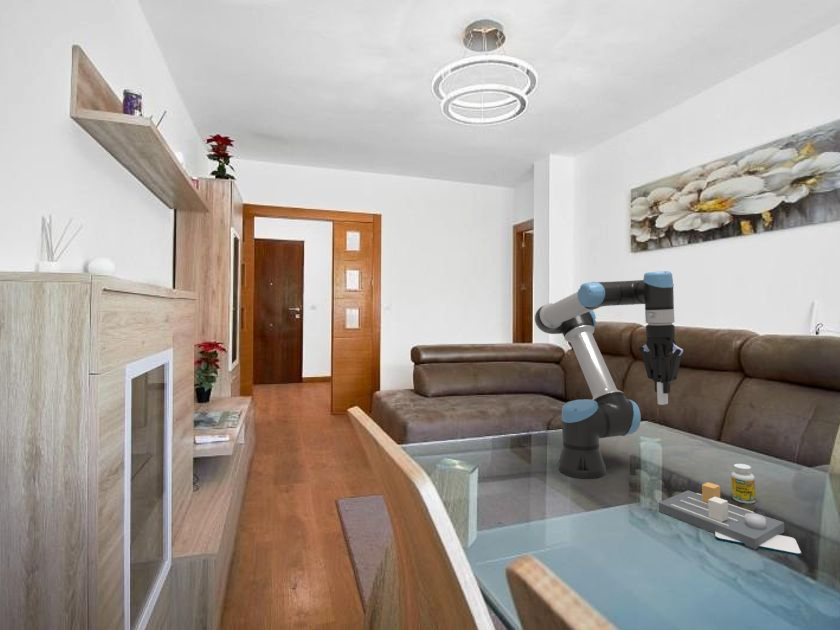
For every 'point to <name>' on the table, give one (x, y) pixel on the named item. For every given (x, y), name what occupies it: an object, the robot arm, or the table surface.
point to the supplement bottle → (743, 484)
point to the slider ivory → (718, 509)
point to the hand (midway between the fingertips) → (662, 403)
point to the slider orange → (710, 491)
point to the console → (737, 526)
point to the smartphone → (769, 543)
